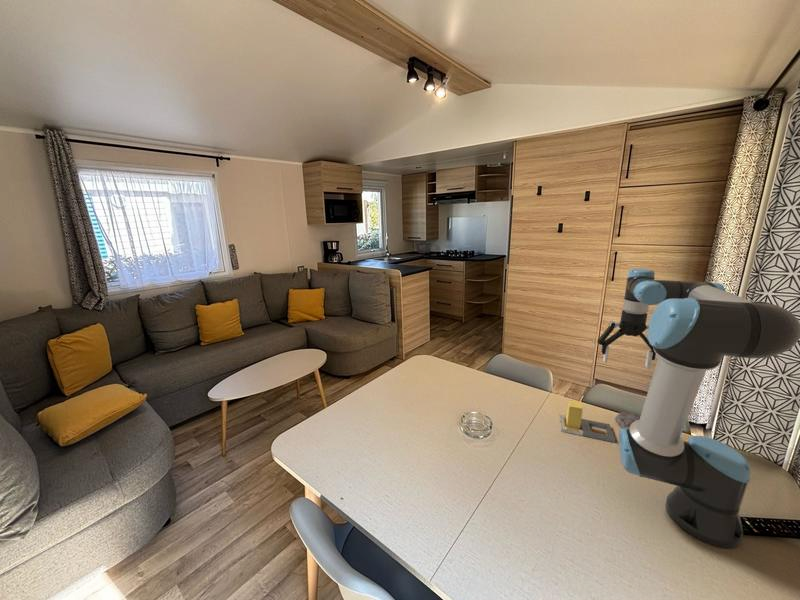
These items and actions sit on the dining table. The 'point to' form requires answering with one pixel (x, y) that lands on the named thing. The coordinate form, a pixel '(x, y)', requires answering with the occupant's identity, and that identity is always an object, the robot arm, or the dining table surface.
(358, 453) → the dining table surface
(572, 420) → the block
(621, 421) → the rock
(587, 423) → the grey flat frame
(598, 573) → the dining table surface
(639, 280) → the robot arm
